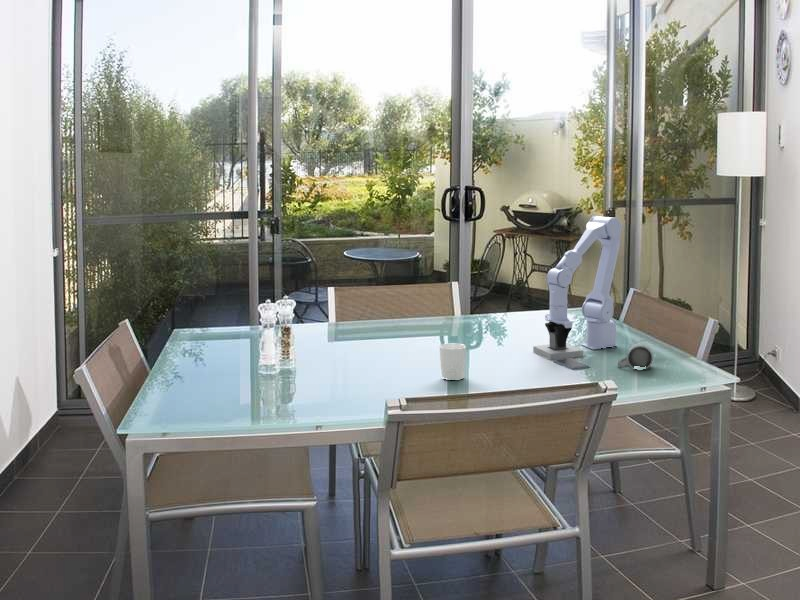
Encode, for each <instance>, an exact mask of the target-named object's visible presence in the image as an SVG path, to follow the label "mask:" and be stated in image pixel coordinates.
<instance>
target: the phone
mask: <svg viewBox="0 0 800 600" xmlns="http://www.w3.org/2000/svg"><path fill="white" fill-rule="evenodd" d="M552 361H553V363H554V364H556V365H559V366H562V367H565V368H567V369H570V370H573V371H575V370H582V369H589V368H590V365H588V364H586V363H583V362H581V361H578V360H576V359H574V358H564V359H555V360H552Z"/></svg>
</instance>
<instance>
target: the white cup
mask: <svg viewBox="0 0 800 600" xmlns="http://www.w3.org/2000/svg"><path fill="white" fill-rule="evenodd" d="M466 349H467V346H466V345H465V344H464V343H460V342H459V343H457V342H450V343H449V342H448V343H443V344H440V345H439V357H440V358H439V360H440V370H441V378H442V377H444V378H447V379H454V380H456V379H462V378H464V379H465V373H466V372H465V371H466V356H467V355H466V353H467V350H466Z"/></svg>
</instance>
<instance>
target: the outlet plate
mask: <svg viewBox="0 0 800 600" xmlns="http://www.w3.org/2000/svg"><path fill="white" fill-rule="evenodd" d="M532 351H533V353H535V354H537V355H539V356H541V357H543V358H545V359H547V360H550V361H553V360H558V359H565V358H571V359H574V358H579V357H580V358H581V357H584V349H582V348H579V347H577V346H574V345H572V344H569V343H567V342H566V350H557V351H554V350H552V349H550V343H549V344H540V345H533V350H532Z"/></svg>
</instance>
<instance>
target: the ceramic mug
mask: <svg viewBox="0 0 800 600" xmlns="http://www.w3.org/2000/svg"><path fill="white" fill-rule="evenodd" d="M653 361H654V355H653V351H652V348H651V347H650V346H649V345H647V344H646V343H643V342H638V343H635V344H633V345H632V346H631V347H630V348H629V350H628V353H627V355H626V356H625V357H623V358H621V359H619V360H618V361H617V362H616V363H617V366H618V367H619V366H620V367H619V368H624V367H627V366H629V367H630V368H632V369H633V368H634V366H640V367H645V366H646V368H647V369H649V368H650V367H651V365H652V364H653Z"/></svg>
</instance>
